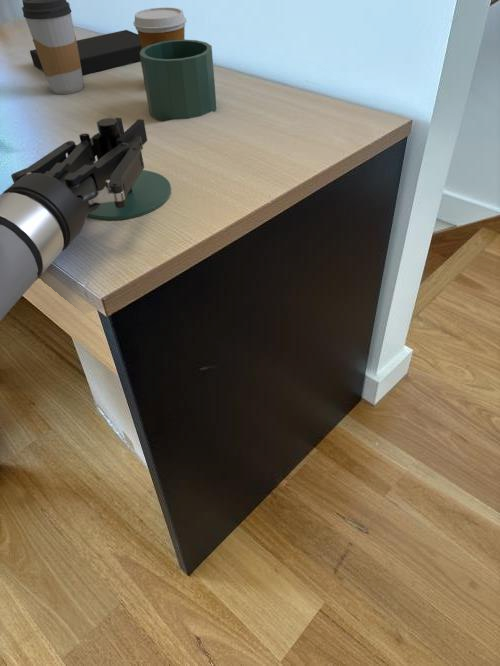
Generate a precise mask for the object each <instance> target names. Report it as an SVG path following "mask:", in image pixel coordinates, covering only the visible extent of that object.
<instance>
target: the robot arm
mask: <svg viewBox="0 0 500 666" xmlns="http://www.w3.org/2000/svg"><path fill="white" fill-rule="evenodd" d="M114 119H116V120H117V122H118V126H119V131H120V137H119V138H118V139H117V140H116V144H117V146H116V147H115V148H113V149H112V150H111V151H109V152H108V153H107V154H105V155H104V151H103V147H102V143H101V139H100V135H99V132H97V133H95V134H94V135H93V136H90V134H89V133H86V132H85V133H80V134H79V135H78V136H79V141H80V142H79V143H78V144H76V142H75V141H73V140H68V141H65V142H64V143H62V144H61V145H59V146H57V147H56V148H54V149H53V150H51V151H50V152H48V153H47V154H46V155H44V156H43V157H41V158H40V159H37V160H36V161H35V162H34V163H32V164H31V165H29V166H28V167H25V168H23V169H21V170H18V171H16V172H14V173H12V174H11V175H10V178H11V180H12V182H13V184H11V185H10V186H9V187H8V188H7V189H5V190H4V191H3V192H2V193H1V194H0V322H1V321H2V320H3V319H4V318H5V317H6V315H7V314H8V313H9V312H10V310H12V308H13V307H14V306H15V305H16V304H17V303H18V302H19V300H21V298H22V297H23V296H24V295H25V293H26V292H27V291H28V290H29V289H30V288H31V287H32V285H33V284H34V283H35V282H36V281H37V280H39V278H40V276H41V275H43V273H44V272H45V271H46V270H47V269H48V268H49V267H50V266H51V265H52V264H53V263H54V261H55V260H56V259H57V258H58V257H59V256H60V255H61V254H62V252H63V251H64V250H66V249H67V248H68V247H69V245H70V244H72V243H73V241H74V240H75V239H76V238H77V236H78V235H80V233H81V232H82V230H83V228H84V225H85V222H86V219H87V217H88V216H87V215H88V214H89V213H91V212H92V211H95V210H97V209H98V208H99V206H100V203H107V202H111V203H115V207H117V208H122V207H125V206H126V196H127V194H128V193H129V191H130V190H131V188H132V186H133V185H134V183H135V182H136V180H137V179H138V177H139V175H140V174H141V172H142V171H143V170H145V164H144V158H143V151H142V150H143V149H144V145H145V144H146V143H147V142H148V136H147V131H146V125H145V119H143V118H141V119H140V118H138V119H136V121H135V122H134V123H132V125H131V126H129V127H128V128H127V129H126V130H125V128H124V124H123V119H122V117H115V118H114ZM96 159H97V160H96Z"/></svg>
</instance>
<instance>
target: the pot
mask: <svg viewBox="0 0 500 666" xmlns="http://www.w3.org/2000/svg"><path fill="white" fill-rule="evenodd" d="M140 60H141V61H140V64H141V71H142V77H143V82H144V88H145V94H146V100H147V101H146V102H147V106H148V107H147V108H148V111H149V113H150V116H151V117H152V118H153V119H155V120H157V121H161V122H168V121H173V120H175V121H176V120H189V119H193V118H198V117H203V116H205V115H207V114H209V113H211V112H213V113H215V112H216V110H217V95H216V83H215V82H216V81H215V71H214V69H215V68H214V58H213V47H212V45H211V44H209V43H208V42H205V41H203V40H197V39H185V40H170V41H164V42H158V43H155V44H151V45H148V46H146V47H145V48H143V49H141V51H140Z"/></svg>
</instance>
